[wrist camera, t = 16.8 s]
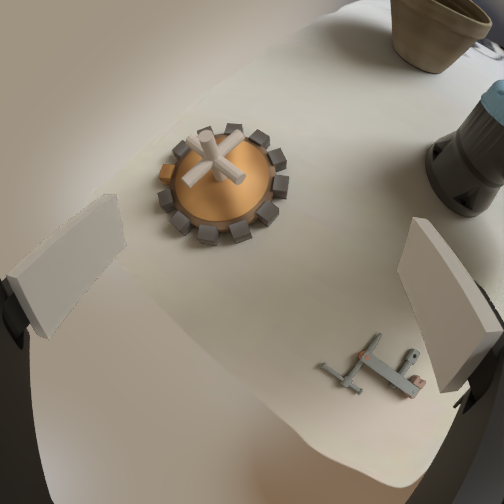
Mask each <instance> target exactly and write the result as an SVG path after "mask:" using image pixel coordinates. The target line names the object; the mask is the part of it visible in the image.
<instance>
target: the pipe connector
mask: <svg viewBox="0 0 504 504" xmlns="http://www.w3.org/2000/svg"><path fill="white" fill-rule="evenodd" d="M244 139H245V136H244V134H243V133H242V132H241V131H240V130H238V129H236V130H235V131H234V132H232V133H231V134H230V135H229V136H228V137H226V138H225V139H224V140H223V141H222V142H221V143H219V144H218V145H217V144H216V141H215V138H214V135H213V133H212V131H210V130H204V131H202V132H200V134H199V135H198V138H197V137H196V136H195V135H190V136H189V137H188V138H187V139H186V141H185V144H186V145H187V146H188V147H189V148H191V149H192V150H193V151H195V152H196V153H197V154H198V155H200V156H201V157H202V159H201V160H200V161H199V162H198V163H197V164H196V165H195V166H194V167H192V168H191V169H190V170H189V171H188V172H187V173H186V174H185V175H184V176H183V177H182V178H181V180H182V181H183V182H184V184H185V185H186V186H187V187H189V188H191V187H192V186H193V185H195V184H196V183H197V182H198V181H199V180H200V179H201V178H202V177H203V176H204V175H205V174H206V173H207V172H208V171H209V170H212V173H213V175H214V177H215V179H216V181H219V182H222V181H224V180H225V179H226V178H229V179H230V180H231V181H232V182H233V183H235V184H236V185H240V184H241V183H242V182H243V181H244V179H245V178H246V174H245V173H244V172H242V171H241V170H240V169H239V168H237V167H236V166H235V165H233V164H232V163H231V162H229V161H228V160H227V159H226V158H224V157H225V156H226V155H227V154H228V153H229V152H231V151H232V150H233V149H234V148H235V147H236V146H237V145H239V144H240V143H241V142H242V141H243V140H244Z"/></svg>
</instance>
